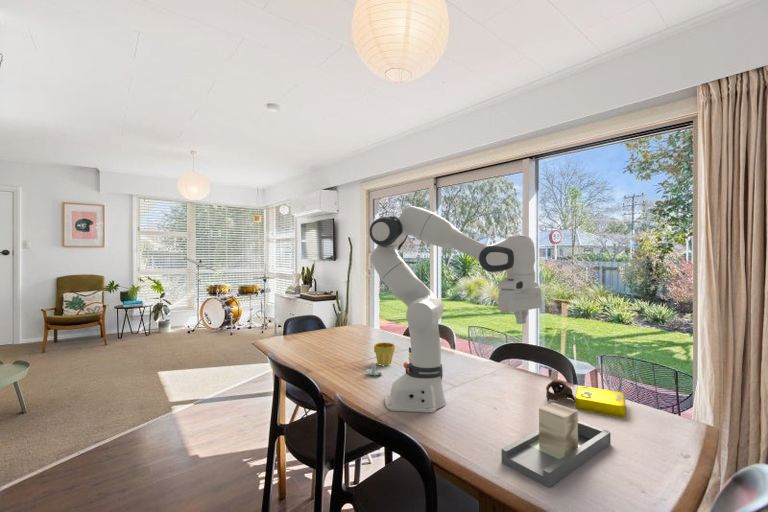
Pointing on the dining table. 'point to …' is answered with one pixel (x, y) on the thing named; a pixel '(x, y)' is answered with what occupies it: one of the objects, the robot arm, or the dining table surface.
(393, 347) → the plant pot
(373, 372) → the pacifier
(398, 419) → the dining table surface
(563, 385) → the pottery mug
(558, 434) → the block
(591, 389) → the element tile
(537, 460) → the grey rimmed tray
